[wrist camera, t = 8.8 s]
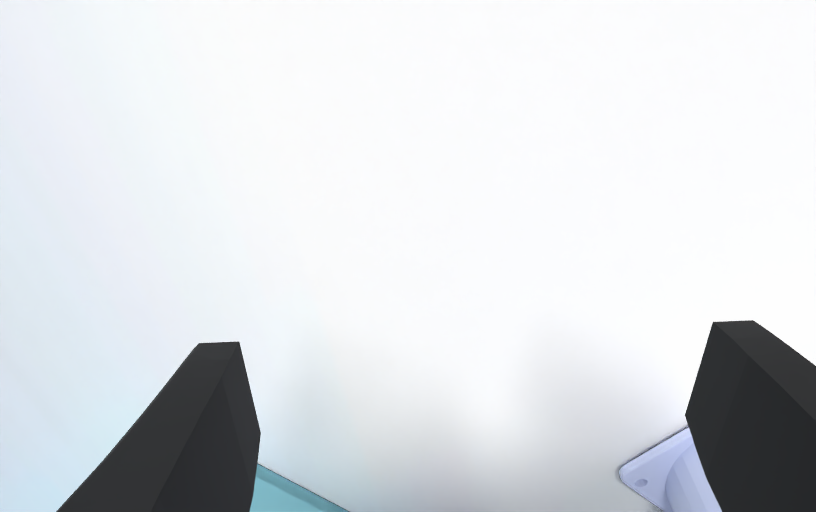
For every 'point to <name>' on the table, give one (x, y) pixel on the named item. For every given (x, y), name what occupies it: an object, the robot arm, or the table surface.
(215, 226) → the table surface
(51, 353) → the table surface
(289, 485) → the teal bin
